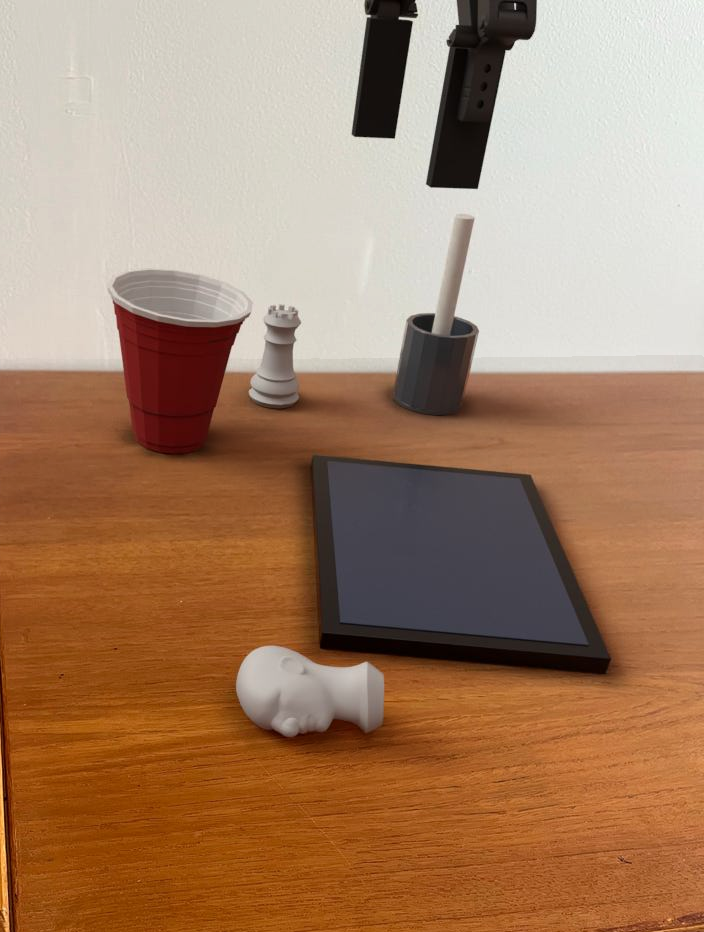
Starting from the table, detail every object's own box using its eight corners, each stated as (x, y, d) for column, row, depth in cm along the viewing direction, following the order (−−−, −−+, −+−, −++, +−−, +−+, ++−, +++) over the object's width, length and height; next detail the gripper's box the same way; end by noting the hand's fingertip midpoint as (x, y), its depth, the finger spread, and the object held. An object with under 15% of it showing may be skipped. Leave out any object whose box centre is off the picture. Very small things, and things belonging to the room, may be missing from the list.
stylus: (435, 394, 94) (473, 214, 85) (437, 401, 93) (476, 219, 83) (418, 392, 94) (453, 212, 85) (420, 399, 93) (456, 217, 83)
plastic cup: (220, 480, 77) (233, 322, 70) (84, 453, 79) (84, 297, 72) (254, 425, 86) (269, 280, 79) (131, 402, 88) (135, 258, 81)
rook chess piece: (300, 393, 93) (311, 304, 88) (296, 412, 89) (307, 321, 84) (251, 387, 93) (259, 298, 88) (244, 406, 89) (253, 314, 85)
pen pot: (456, 391, 96) (472, 316, 92) (466, 418, 91) (483, 340, 87) (390, 385, 96) (403, 310, 92) (396, 411, 91) (410, 333, 87)
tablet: (527, 488, 80) (531, 473, 80) (605, 674, 61) (612, 657, 60) (310, 468, 80) (312, 453, 80) (319, 648, 61) (322, 631, 60)
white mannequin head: (222, 741, 55) (250, 667, 58) (369, 778, 53) (390, 700, 56) (219, 695, 52) (249, 619, 55) (376, 733, 50) (398, 652, 53)
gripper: (337, -302, 58) (294, 117, 70) (529, -396, 38) (423, 211, 50) (462, -286, 59) (399, 122, 71) (709, -367, 39) (563, 215, 52)
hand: (408, 160), depth 61 cm, fingers open, 13 cm apart
